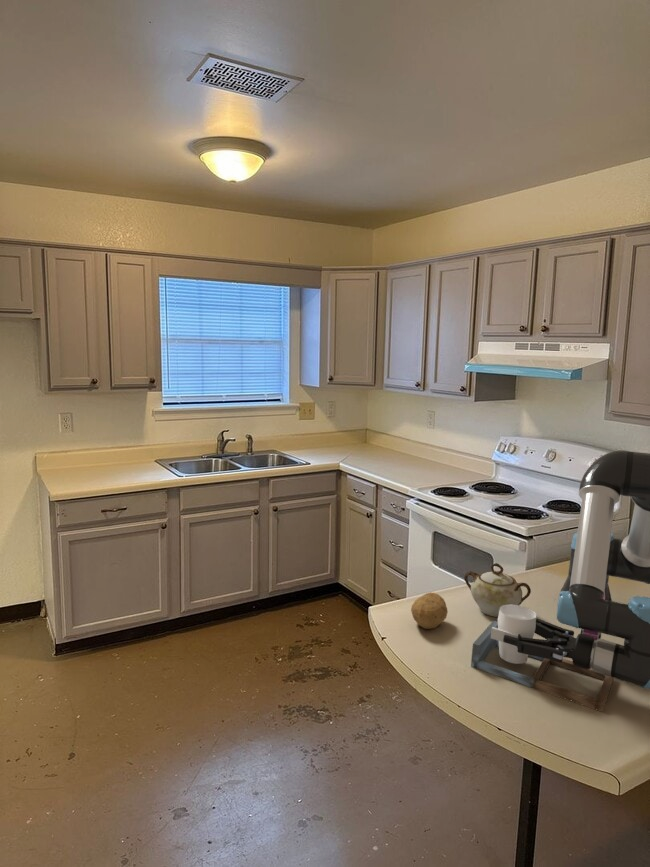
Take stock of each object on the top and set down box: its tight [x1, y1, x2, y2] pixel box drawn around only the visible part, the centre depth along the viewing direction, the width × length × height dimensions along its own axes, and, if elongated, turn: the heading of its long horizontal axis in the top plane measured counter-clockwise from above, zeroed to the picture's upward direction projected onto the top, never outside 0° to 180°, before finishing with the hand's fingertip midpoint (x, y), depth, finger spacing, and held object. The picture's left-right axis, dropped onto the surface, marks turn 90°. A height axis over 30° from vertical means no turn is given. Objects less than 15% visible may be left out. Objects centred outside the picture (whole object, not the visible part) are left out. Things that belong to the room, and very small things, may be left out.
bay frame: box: [470, 620, 615, 713], centre depth 144 cm, size 30×16×6 cm, turn 56°
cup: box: [497, 605, 537, 665], centre depth 147 cm, size 9×9×12 cm
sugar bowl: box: [464, 562, 532, 618], centre depth 177 cm, size 20×15×15 cm
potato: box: [410, 592, 449, 630], centre depth 166 cm, size 10×14×8 cm
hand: (497, 625), depth 150 cm, fingers closed on cup, 9 cm apart
